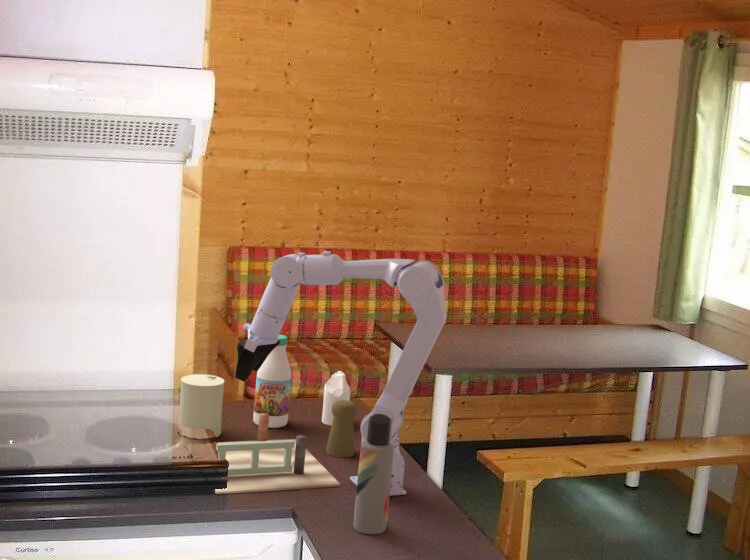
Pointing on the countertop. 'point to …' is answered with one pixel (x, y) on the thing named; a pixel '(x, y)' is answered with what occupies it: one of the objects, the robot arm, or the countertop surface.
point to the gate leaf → (255, 456)
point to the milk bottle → (274, 387)
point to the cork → (342, 429)
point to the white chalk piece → (334, 395)
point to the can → (201, 402)
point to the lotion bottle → (374, 477)
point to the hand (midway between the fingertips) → (246, 374)
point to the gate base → (301, 477)
